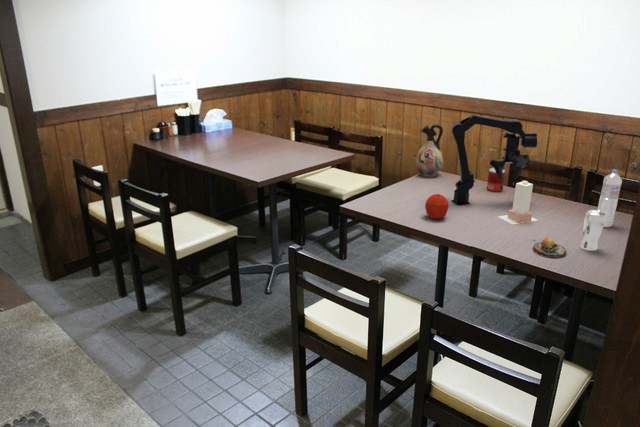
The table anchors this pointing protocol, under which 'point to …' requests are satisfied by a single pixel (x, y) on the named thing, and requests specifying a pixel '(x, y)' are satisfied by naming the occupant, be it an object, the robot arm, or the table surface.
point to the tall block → (522, 197)
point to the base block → (519, 216)
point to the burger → (549, 249)
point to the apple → (437, 206)
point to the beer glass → (592, 229)
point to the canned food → (495, 181)
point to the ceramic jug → (430, 153)
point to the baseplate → (513, 220)
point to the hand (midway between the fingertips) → (507, 179)
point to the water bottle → (610, 197)
